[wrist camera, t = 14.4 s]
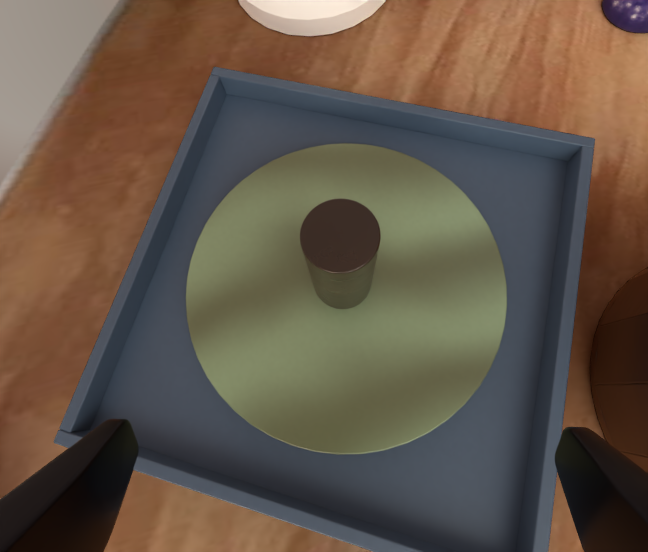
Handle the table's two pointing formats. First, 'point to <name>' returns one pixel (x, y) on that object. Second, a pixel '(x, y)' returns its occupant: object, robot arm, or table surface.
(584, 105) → the table surface
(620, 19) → the toy lamp
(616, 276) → the table surface
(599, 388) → the basket
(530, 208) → the tray
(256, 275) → the basket lid
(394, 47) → the table surface
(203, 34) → the table surface
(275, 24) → the decorative container
